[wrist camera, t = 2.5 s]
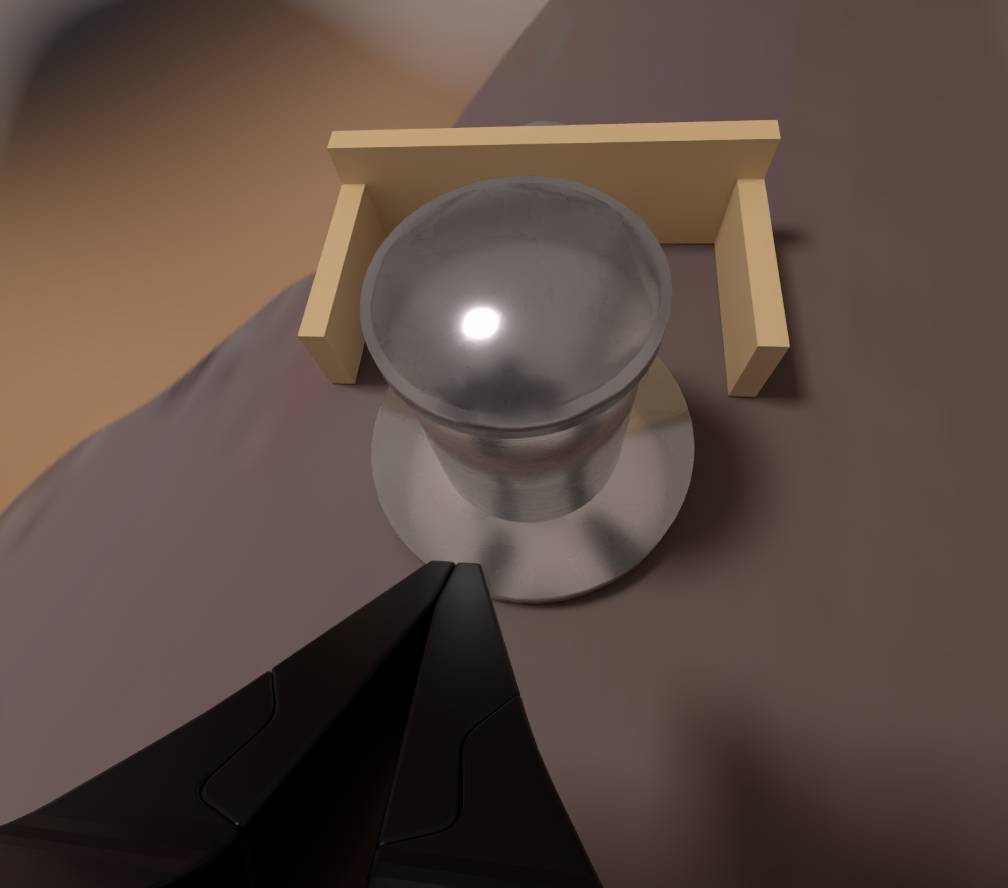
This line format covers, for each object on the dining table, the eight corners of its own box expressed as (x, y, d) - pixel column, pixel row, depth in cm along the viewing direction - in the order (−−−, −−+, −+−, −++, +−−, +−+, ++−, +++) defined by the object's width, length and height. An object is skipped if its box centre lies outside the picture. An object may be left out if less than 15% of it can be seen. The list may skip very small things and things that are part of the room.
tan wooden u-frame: (755, 397, 25) (811, 314, 19) (332, 383, 27) (276, 306, 22) (735, 221, 29) (776, 113, 24) (372, 222, 32) (334, 125, 26)
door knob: (695, 617, 21) (818, 554, 11) (354, 590, 23) (196, 514, 13) (679, 326, 27) (752, 111, 17) (407, 321, 28) (326, 123, 19)
